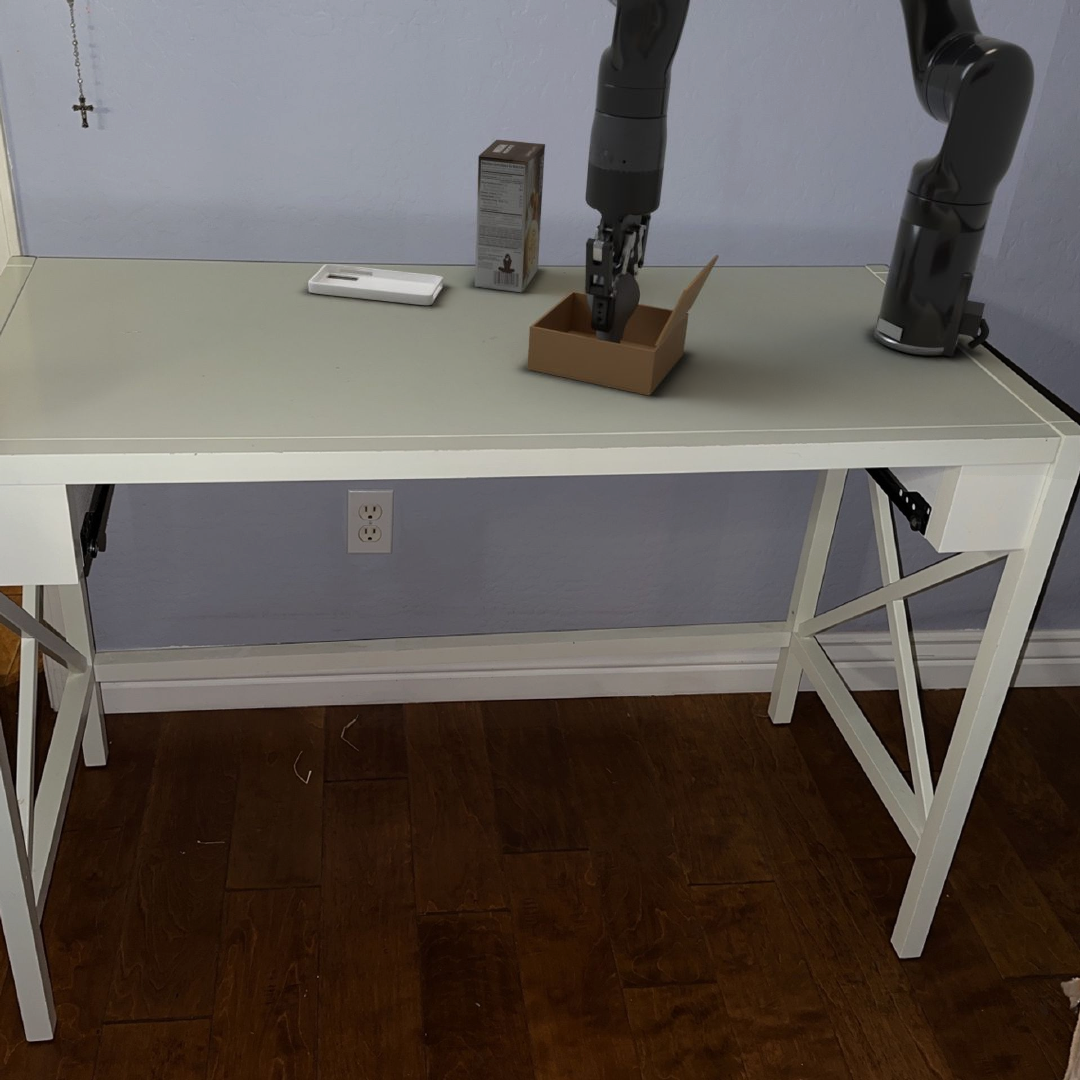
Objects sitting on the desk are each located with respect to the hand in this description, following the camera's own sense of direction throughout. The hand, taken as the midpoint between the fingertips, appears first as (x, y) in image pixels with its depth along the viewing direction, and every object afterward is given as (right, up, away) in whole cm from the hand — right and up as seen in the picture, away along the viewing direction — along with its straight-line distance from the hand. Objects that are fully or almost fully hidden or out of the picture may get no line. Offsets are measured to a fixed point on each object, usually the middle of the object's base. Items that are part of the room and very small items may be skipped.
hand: (611, 320), depth 124 cm
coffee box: (-12, +10, +24) cm, 28 cm away
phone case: (-27, +7, +17) cm, 33 cm away
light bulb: (0, -4, +2) cm, 5 cm away
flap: (+7, +1, -4) cm, 9 cm away
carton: (0, -4, +2) cm, 5 cm away
